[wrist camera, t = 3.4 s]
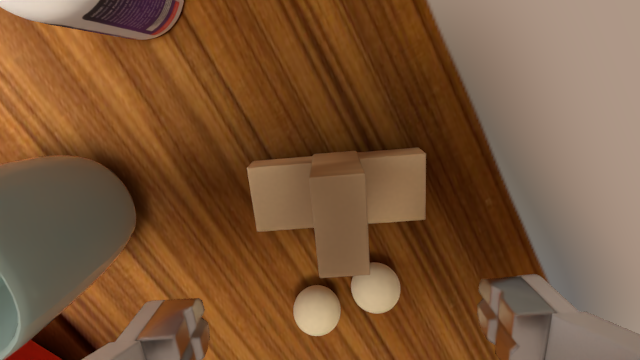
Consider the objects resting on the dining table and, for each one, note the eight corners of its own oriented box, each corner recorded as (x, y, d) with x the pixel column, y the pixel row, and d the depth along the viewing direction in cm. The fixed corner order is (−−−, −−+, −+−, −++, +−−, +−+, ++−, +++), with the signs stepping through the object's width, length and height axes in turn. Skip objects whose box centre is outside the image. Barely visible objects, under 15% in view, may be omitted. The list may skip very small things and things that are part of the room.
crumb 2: (394, 251, 22) (405, 279, 19) (395, 291, 23) (405, 323, 20) (348, 254, 23) (351, 282, 20) (350, 293, 24) (354, 326, 21)
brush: (414, 136, 20) (457, 166, 14) (415, 211, 22) (453, 270, 15) (254, 150, 20) (220, 184, 14) (265, 222, 22) (239, 284, 16)
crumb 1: (338, 274, 23) (339, 304, 20) (341, 311, 24) (343, 345, 21) (293, 277, 23) (288, 307, 20) (298, 314, 24) (294, 348, 21)
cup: (177, 226, 22) (65, 340, 13) (85, 267, 23) (-82, 400, 14) (109, 122, 20) (-87, 164, 11) (11, 172, 21) (-245, 252, 12)
